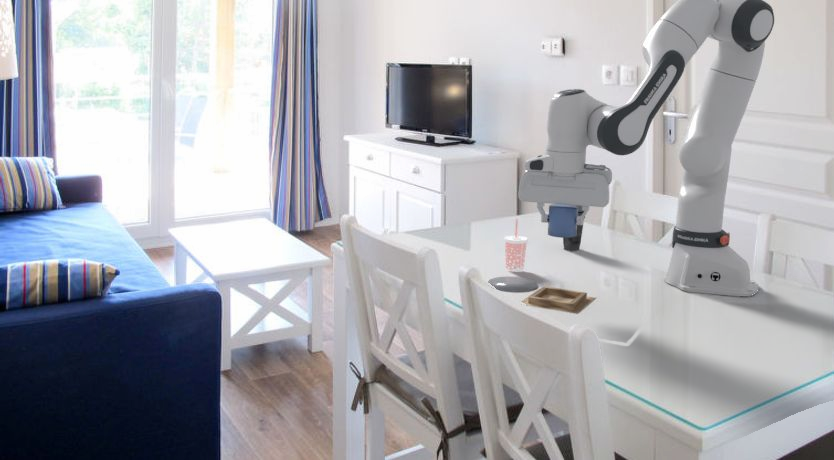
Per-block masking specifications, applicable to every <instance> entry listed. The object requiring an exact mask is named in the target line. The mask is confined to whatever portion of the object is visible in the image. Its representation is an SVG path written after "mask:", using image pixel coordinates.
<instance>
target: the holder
mask: <svg viewBox="0 0 834 460" xmlns="http://www.w3.org/2000/svg"><path fill="white" fill-rule="evenodd" d="M596 299H597V297H593V296H588V293H587V292H584V291H577V290H572V289H571V290H570V289H565V288H557V287H554V286H553V287H552V286H551V287H550V286H546V285H544V286H542V287H540V288H539V289H537V290H536V291H534V292H533V293H531V294H530V295H529V296H527V297H526V298H524V299H523V300H521V301H520V302H523V303H525V304H526V305H525V306H528V305H529V306H528V307H534V308H539V309H540V308H541V309H546V310H553V311H558V312H564V313H565V312H566V313H570V314H571V313H572V314H576V315H578V314H579V313H580V312H581V311H583V310H584V309H585V308H586V307H587V306H589V305H590V304H591V303H592V302H593V301H594V300H596Z"/></svg>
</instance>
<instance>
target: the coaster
mask: <svg viewBox="0 0 834 460" xmlns="http://www.w3.org/2000/svg"><path fill="white" fill-rule="evenodd" d="M487 282H488V283H490V284H491V285H492V286H494V287H495V288H496V289H495V290H497V289H498V290H497V291H502V292H509V293H510V292H511V293H521V292H530V291H533V290H536V289H537V287H538V283H537V282H536V281H535V280H533V279H531V278H525V277H521V276H520V277H519V276H497V277H492V278H491V279H490V278H489V280H488V281H487ZM488 283H487V284H488Z"/></svg>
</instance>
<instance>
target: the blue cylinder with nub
mask: <svg viewBox="0 0 834 460" xmlns="http://www.w3.org/2000/svg"><path fill="white" fill-rule="evenodd" d="M548 214H549V216H548V223H547V235H548V236H550V237H555V238H560V239H561V238H562V239H563V238H570V237H575V236H576V235H577V225H576V222H577V221H576V218H577V216H578V206H575V205H565V204H549V205H548Z"/></svg>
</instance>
